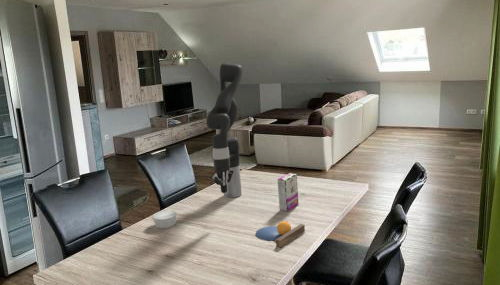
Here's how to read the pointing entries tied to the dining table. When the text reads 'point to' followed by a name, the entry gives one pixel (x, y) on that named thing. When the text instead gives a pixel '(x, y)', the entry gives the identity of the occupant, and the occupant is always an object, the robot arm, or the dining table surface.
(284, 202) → the candy bar box
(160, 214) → the ramekin
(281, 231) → the ball
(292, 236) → the wooden stick
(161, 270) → the dining table surface
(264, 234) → the blue disc
